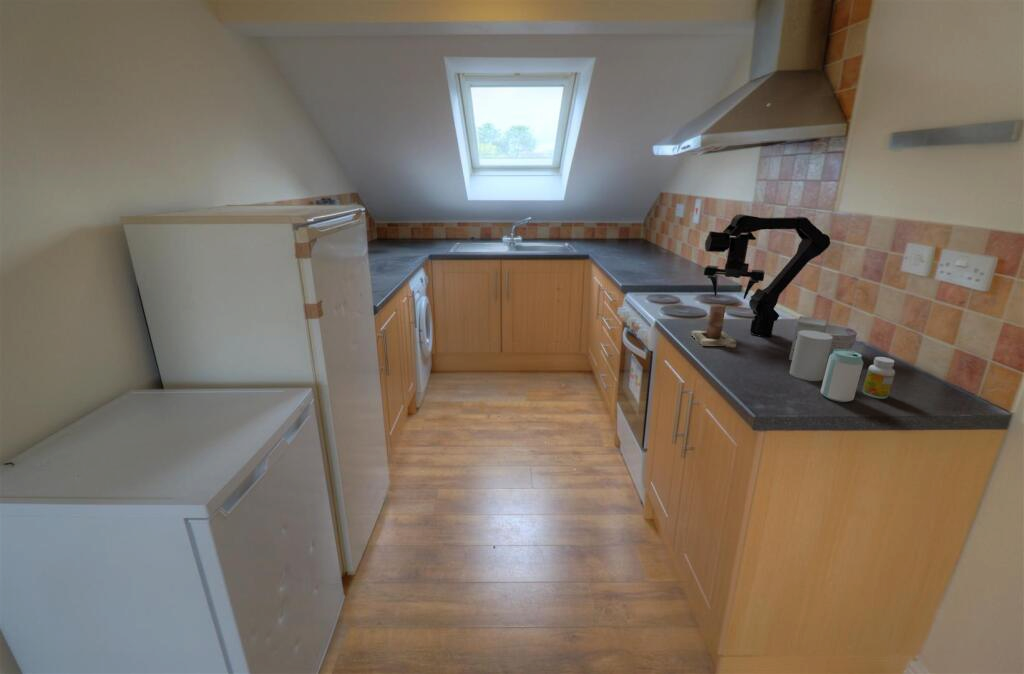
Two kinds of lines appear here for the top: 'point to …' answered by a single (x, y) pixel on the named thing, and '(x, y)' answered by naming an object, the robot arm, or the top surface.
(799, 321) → the supplement box
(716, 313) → the cherry wood peg
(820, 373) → the cup
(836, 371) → the can
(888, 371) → the supplement bottle
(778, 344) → the top surface
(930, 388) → the top surface
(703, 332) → the birch hole board
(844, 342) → the paper bowls
